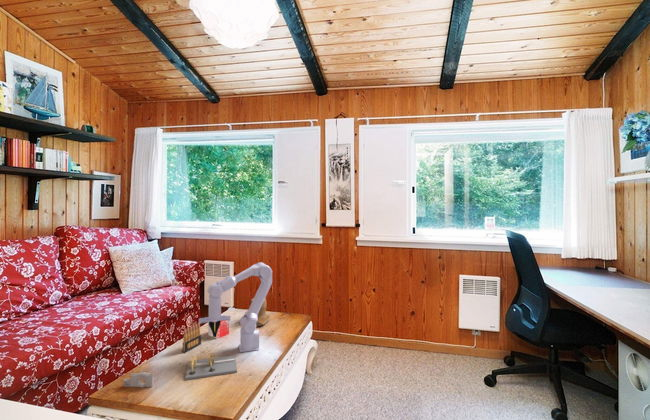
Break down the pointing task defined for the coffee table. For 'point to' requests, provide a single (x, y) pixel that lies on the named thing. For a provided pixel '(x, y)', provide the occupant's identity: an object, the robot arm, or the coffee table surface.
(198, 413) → the coffee table surface
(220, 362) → the pitch plate
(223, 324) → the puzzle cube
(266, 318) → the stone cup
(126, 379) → the garden wall model
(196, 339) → the ammunition clip
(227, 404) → the coffee table surface
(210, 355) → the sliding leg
